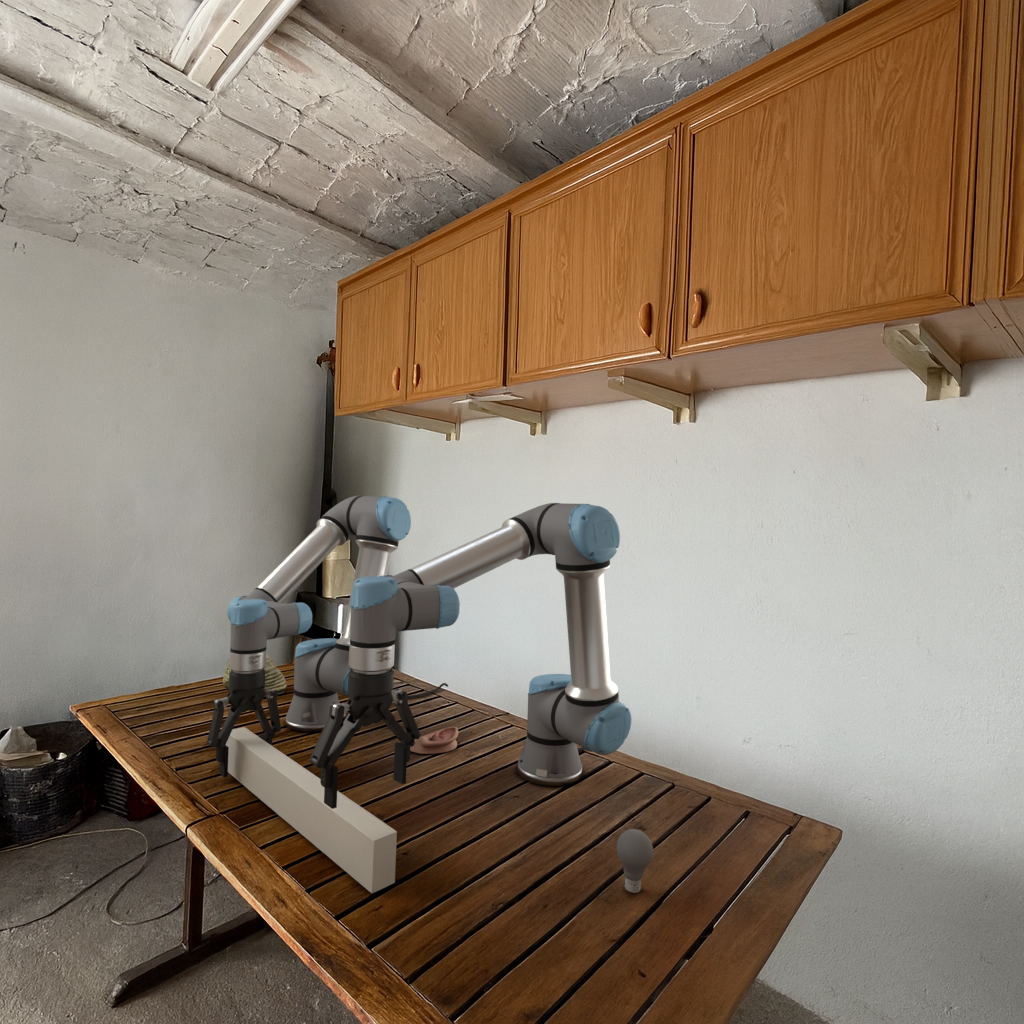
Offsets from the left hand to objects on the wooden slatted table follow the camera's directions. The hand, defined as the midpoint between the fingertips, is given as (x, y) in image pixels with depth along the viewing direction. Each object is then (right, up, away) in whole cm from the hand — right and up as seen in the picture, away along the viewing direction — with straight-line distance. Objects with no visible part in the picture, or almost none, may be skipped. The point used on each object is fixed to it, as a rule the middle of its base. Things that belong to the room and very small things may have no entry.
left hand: (244, 769), depth 142 cm
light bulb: (+80, -5, -37) cm, 89 cm away
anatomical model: (+39, -3, +21) cm, 45 cm away
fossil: (-20, +1, +56) cm, 59 cm away
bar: (+18, -2, -17) cm, 25 cm away
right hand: (+36, +10, -35) cm, 51 cm away
